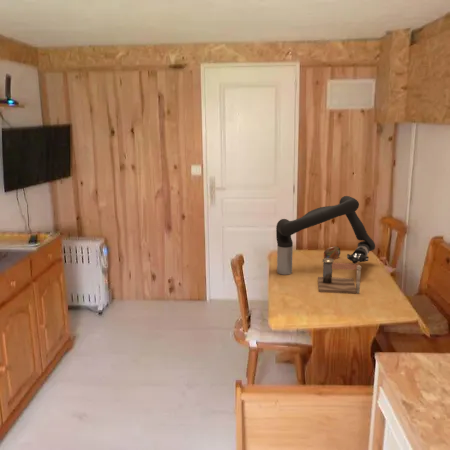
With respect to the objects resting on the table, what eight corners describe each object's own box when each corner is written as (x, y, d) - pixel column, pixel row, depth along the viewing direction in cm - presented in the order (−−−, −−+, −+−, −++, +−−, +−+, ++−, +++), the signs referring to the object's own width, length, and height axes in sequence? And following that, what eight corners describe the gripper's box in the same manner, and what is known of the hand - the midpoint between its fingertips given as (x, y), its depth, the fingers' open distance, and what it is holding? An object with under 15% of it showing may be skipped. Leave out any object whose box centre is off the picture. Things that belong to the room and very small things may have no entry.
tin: (326, 262, 303) (326, 250, 301) (322, 261, 305) (323, 249, 303) (340, 257, 312) (341, 245, 310) (336, 256, 314) (337, 244, 312)
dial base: (317, 279, 273) (318, 253, 269) (356, 280, 269) (357, 255, 266) (318, 291, 254) (319, 264, 250) (360, 293, 250) (361, 266, 246)
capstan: (321, 283, 262) (322, 261, 259) (321, 279, 268) (322, 257, 264) (358, 285, 258) (359, 263, 255) (357, 281, 264) (358, 259, 260)
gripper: (350, 246, 281) (343, 254, 266) (372, 248, 275) (366, 257, 260) (349, 257, 283) (342, 266, 268) (371, 260, 277) (365, 269, 262)
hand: (354, 261), depth 264 cm, fingers closed
